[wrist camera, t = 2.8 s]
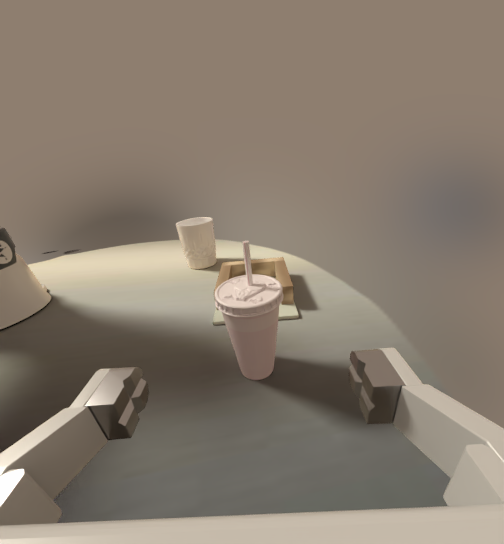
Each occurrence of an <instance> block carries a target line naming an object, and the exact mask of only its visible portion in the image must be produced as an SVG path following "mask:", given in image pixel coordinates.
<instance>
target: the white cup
mask: <svg viewBox="0 0 504 544" xmlns="http://www.w3.org/2000/svg"><path fill="white" fill-rule="evenodd" d="M176 227H177V231H178V235H179V238H180V242H181V245H182V248H183V252H184V255H185V257H186V261H187V265H188V267H190V268H191V269H204V268H208V267H210V266H213V265H214V264H215V263H216V262H217V259H216V245H215V236H214V228H213V219H212V218H209V217H198V218H191V219H186V220H183V221H179V222H178V223H176Z"/></svg>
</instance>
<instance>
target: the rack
mask: <svg viewBox="0 0 504 544" xmlns="http://www.w3.org/2000/svg"><path fill="white" fill-rule="evenodd" d="M251 269H252V274H258V275H266V276H275V277H276V280H278V281H279V282H280V283H281V285H282V292H283V295H284V296H283V301H282V302H281V305H283V304H294V303H293V284H292V281H291V279H290V276H289V273H288V270H287V267H286V264H285V261H284V258H283V257H280V258H269V259H258V260H251ZM242 275H246V270H245V261H235V262H224V263H222V266H221V269H220V273H219V276H218V280H217V283H216V287H215V290H214V297H215V291H216V289H217V288H218V286H220V285H221V284H222V283H223V282H225V281H227V280H229V279H231V278H234V277H238V276H242ZM215 301H216V300H215ZM216 308H217V307H216ZM217 310H219V309H218V308H217Z"/></svg>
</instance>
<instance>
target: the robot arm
mask: <svg viewBox="0 0 504 544" xmlns="http://www.w3.org/2000/svg"><path fill="white" fill-rule="evenodd" d="M50 300H51V295H50V294H49V293H48V292H47V288H46V287H45V285H43V284H40V283H39V281H38V280H37V278H36V277H35V275H34V274H33V272H32V271H31V270H30V268H29V267H28V265H27V264H26V263H25V261H24V260H23V259H22V257H21V256H19V255H17V254H16V253H15V245H14V243H13V241H12V238H11V236H10V235H9V234H8V233H7V231H6V229H5V228H2V227H0V329H3V328H5V327H8V326H10V325H12V324H15V323H17V322H19V321H21V320H23V319H25V318H27V317H29V316H31V315H32V314H34V313H36V312H37V311H39V310H40V309H42V308H43V307H44V306H46V305H47V304H48V303H49V301H50ZM350 360H351V362H352V365H351V366H350V367H349V381H350V385H351V388H352V390H353V393H354V395H356V396H357V397H358V398H359V399H360V402H359V407H360V409H361V411H362V413H363V416H364V418H365V420H366V422H367V424H386V423H393V425H394V426H395V427H396V428H397V429H398V430H399V431H400V432H401V433H402V434H403V435H405V436H406V437H407V438H408V439H409V440H410V441H411V442H412V443H413V444H414V445H415V446H416V447H418V448H419V449H420V450H421V451H422V452H423V453H424V454H425V455H426V456H427V457H428V458H430V459H431V460H432V461H433V462H434V463H435V464H436V465H437V466H438V467H439V468H440V469H441V470H443V471H444V472H445V473H446V474H447V475H448V476H449V477H450V478H451V479H450V482H449V484H448V486H447V488H446V490H445V493H444V496H443V498H444V500H445V501H446V503H447V505H448V506H443V507H419V508H396V509H373V510H349V511H326V512H303V513H280V514H257V515H234V516H211V517H188V518H165V519H142V520H119V521H96V522H73V523H57V522H58V520H59V518H60V517H61V515H62V513H61V509H60V508H59V507H58V506H57V504H56V503H55V502H54V501H53V500H54V498H55V497H56V496H57V495H58V494H59V493H60V492H61V491H62V490H63V489H64V488H65V487H66V486H67V485H68V484H69V483H70V481H71V480H72V479H73V478H74V477H75V476H76V475H77V474H78V473H79V472H80V471H81V470H82V469H83V468H84V467H85V466H86V464H87V463H88V462H89V461H90V460H91V459H92V458H93V457H94V456H95V455H96V454H97V453H98V452H99V451H100V450H101V449H102V447H103V446H104V445H105V444H106V443H107V442H108V440H114V439H125V438H131V437H132V435H133V433H134V431H135V428H136V426H137V424H138V422H139V416H138V413H139V412H141V411H142V410H143V409H144V408H145V406H146V403H147V401H148V395H149V388H148V384H147V382H146V381H145V380H143V379H142V378H141V377H142V375H143V372H142V370H141V368H140V367H126V368H110V369H100V370H98V371H97V372H96V373H95V374H94V375H93V377H92V378H91V379H90V381H89V382H88V383H87V385H86V386H85V387H84V389H83V390H82V391H81V393H80V394H79V395H78V397H77V398H76V399H75V401H74V402H73V403H72V404H71V406H70V407H69V408H64V409H63V410H62V411H60V412H59V413H57V414H56V415H54V416H53V417H52V418H50V419H49V420H47V421H46V422H44V423H43V424H42V425H40V426H39V427H37V428H36V429H35V430H33V431H32V432H30V433H29V434H27V435H26V436H25V437H23V438H22V439H20V440H19V441H17V442H16V443H15V444H13V445H12V446H10V447H9V448H7V449H6V450H5V451H3V452H2V453H0V544H504V429H503V428H502V427H500V426H498V425H497V424H495V423H493V422H491V421H490V420H487V419H486V418H485V417H483V416H481V415H479V414H478V413H476V412H474V411H472V410H471V409H469V408H468V407H466V406H464V405H462V404H461V403H459V402H457V401H456V400H454V399H452V398H451V397H449V396H447V395H445V394H444V393H442V392H440V391H439V390H437V389H435V388H433V387H432V386H430V385H428V384H424V385H423V383H422V382H421V381H420V379H419V378H418V377H417V376H416V374H415V373H414V372H413V370H412V369H411V368H410V367H409V365H408V364H407V363H406V361H405V360H404V359H403V358H402V356H401V355H400V354H399V352H398V351H397V350H396V349H395V348H383V349H371V350H359V351H352V352H351V354H350Z"/></svg>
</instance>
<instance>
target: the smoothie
mask: <svg viewBox="0 0 504 544" xmlns="http://www.w3.org/2000/svg"><path fill="white" fill-rule="evenodd" d="M242 244H243V252H244V261H245V270H246V275H242V276H238V277H234V278H231V279H229V280H227V281H225V282H223V283H222V284H221V285H220V286H218V288H217V289H216V291H215V300H216V301H215V304H216V307H217V308H218V309H219V310H220V311H221V312H222V315H223V318H224V321H225V324H226V327H227V330H228V333H229V336H230V339H231V342H232V345H233V348H234V351H235V354H236V357H237V361H238V364H239V367H240V370H241V372H242V374H243V375H244V376H245V377H246V378H248V379H251V380H261V379H264V378H266V377H268V376H269V375H270V374H271V373H272V371H273V369H274V361H275V350H276V338H277V327H278V316H279V305H280V304H281V302H282V301H283V296H284V295H283V292H282V285H281V283H280V282H279V281H278V280H276V279H274V278H272V277H270V276H266V275H258V274H252V269H251V259H250V250H249V241H243V242H242Z"/></svg>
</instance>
